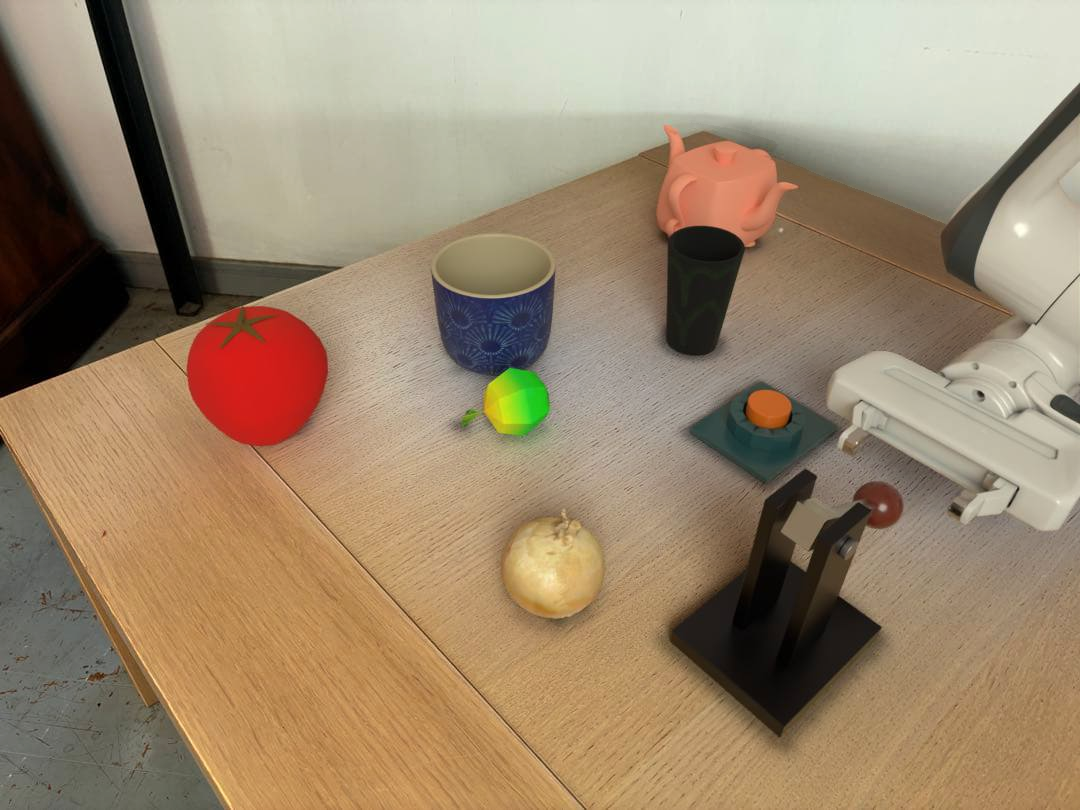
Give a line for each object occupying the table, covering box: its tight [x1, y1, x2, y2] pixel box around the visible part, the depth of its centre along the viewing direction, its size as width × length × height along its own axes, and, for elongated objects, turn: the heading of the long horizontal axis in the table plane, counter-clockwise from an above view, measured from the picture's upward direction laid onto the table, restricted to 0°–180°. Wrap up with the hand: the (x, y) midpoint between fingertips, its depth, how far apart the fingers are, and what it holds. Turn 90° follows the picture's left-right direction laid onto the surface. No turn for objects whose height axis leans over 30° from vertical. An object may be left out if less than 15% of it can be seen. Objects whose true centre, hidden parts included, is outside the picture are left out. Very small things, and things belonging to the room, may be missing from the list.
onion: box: [500, 508, 606, 620], centre depth 63 cm, size 8×8×7 cm
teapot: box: [655, 124, 799, 248], centre depth 104 cm, size 15×17×13 cm
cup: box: [665, 226, 746, 357], centre depth 87 cm, size 8×8×12 cm
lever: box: [780, 480, 905, 552], centre depth 58 cm, size 15×4×4 cm, turn 131°
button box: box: [689, 380, 838, 485], centre depth 79 cm, size 11×9×2 cm
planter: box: [430, 232, 557, 376], centre depth 86 cm, size 12×12×11 cm
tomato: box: [186, 304, 329, 447], centre depth 76 cm, size 12×12×13 cm
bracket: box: [669, 468, 883, 738], centre depth 57 cm, size 12×10×15 cm
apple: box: [460, 368, 551, 437], centre depth 78 cm, size 7×6×9 cm
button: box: [746, 390, 792, 429], centre depth 78 cm, size 4×4×2 cm
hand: (899, 478), depth 63 cm, fingers open, 8 cm apart
